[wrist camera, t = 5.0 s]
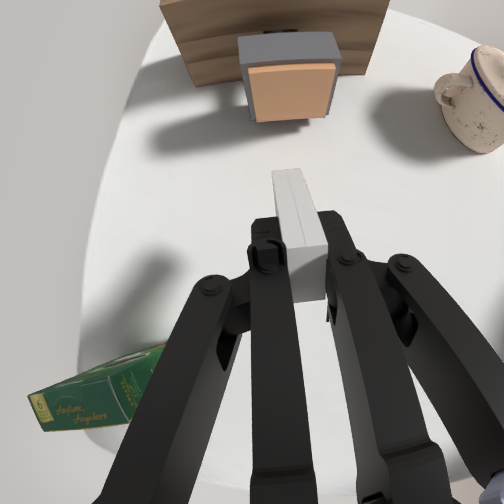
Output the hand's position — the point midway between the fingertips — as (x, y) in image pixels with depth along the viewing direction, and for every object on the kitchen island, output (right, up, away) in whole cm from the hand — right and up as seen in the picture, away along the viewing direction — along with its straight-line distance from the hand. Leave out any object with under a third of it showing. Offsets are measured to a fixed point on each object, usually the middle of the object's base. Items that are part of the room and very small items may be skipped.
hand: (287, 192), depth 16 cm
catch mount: (+1, +18, +12) cm, 21 cm away
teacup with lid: (+21, +12, +9) cm, 26 cm away
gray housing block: (+1, +13, +10) cm, 16 cm away
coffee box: (-11, -13, +10) cm, 19 cm away
